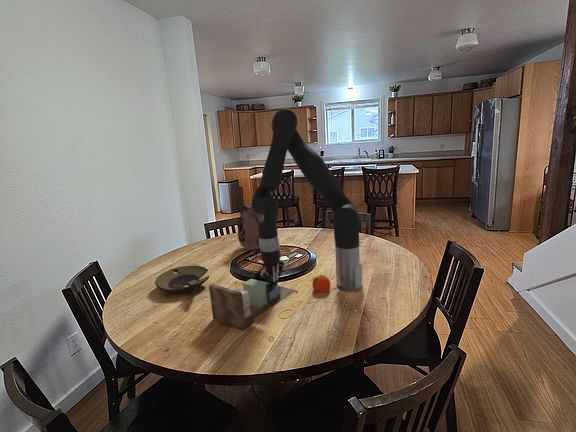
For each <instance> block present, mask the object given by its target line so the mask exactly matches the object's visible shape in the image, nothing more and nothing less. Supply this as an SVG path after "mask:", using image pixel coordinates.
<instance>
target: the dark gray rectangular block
mask: <svg viewBox="0 0 576 432" xmlns="http://www.w3.org/2000/svg"><path fill="white" fill-rule="evenodd" d="M261 281H262V282H264V281H263V280H261ZM265 282H266V293H267V303H270V304H271V303H273V302H274V301H276V300H277V299H279V298H280V297H281V293H280V285H274V284H271V283H270V282H268V281H265Z"/></svg>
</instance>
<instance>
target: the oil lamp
mask: <svg viewBox="0 0 576 432" xmlns="http://www.w3.org/2000/svg"><path fill="white" fill-rule="evenodd" d="M208 272H209V270H208V268H206V267H205V266H201V265H185V266H184V265H183V266H177V267H175V268H174V267H173V268H169V270H166V271H164V272H162V273H160V274H159V275H158V276H157V278H156V279H155V281H154V284H155V286H156V288H157V289H159V290H160V291H163V292H168V293H169V292H170V293H183V292H184V293H185V292H189V293H195V292H196V291H197V290H198V288H199V287H200V286H202V285H203V284H204V283H206V282H207V280H209V278H210V275H207V276H205V277H203V276H204V275H206V273H208ZM202 277H203V278H202ZM184 285H187V286H184Z"/></svg>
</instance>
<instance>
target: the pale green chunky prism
mask: <svg viewBox="0 0 576 432" xmlns="http://www.w3.org/2000/svg"><path fill="white" fill-rule="evenodd" d="M262 281H263V280H257V279H254V278H250V279H248V280H246V281H244V282H243V283H242V290H244V291H248V293H249V303H250V305H251V306H254V307H257V308H260V307H262V306H263V305H265V304H266V303H267V293H266V282H267V281H263V282H262Z"/></svg>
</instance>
